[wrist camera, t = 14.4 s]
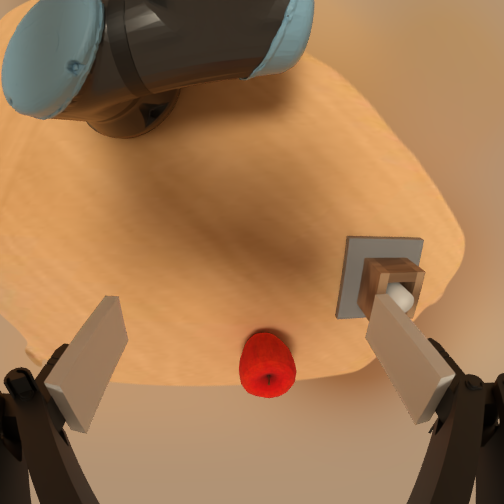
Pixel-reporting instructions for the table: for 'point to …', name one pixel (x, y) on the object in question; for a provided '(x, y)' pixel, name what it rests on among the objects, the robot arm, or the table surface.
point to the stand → (353, 270)
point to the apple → (266, 366)
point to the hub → (388, 281)
